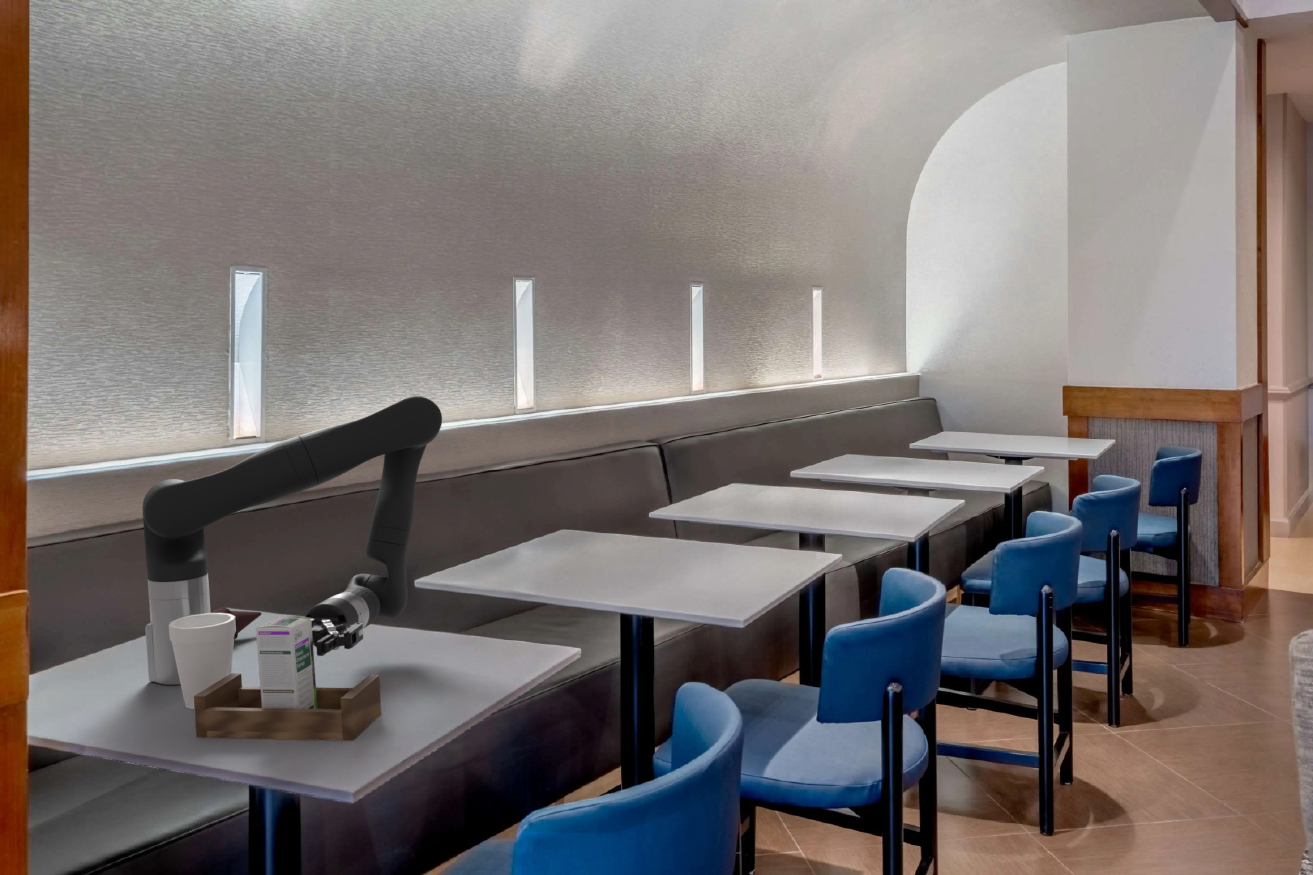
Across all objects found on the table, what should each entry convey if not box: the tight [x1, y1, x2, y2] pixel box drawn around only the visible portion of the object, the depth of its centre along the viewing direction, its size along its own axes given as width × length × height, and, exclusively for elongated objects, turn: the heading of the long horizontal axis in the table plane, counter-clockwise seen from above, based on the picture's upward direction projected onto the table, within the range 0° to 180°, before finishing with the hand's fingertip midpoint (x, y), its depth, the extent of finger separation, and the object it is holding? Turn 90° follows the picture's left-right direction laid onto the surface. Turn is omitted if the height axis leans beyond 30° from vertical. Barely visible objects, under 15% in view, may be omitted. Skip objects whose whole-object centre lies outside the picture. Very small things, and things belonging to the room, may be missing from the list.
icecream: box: [210, 606, 262, 641], centre depth 200 cm, size 7×7×15 cm
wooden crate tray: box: [194, 672, 382, 742], centre depth 154 cm, size 23×10×6 cm, turn 83°
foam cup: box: [169, 613, 236, 710], centre depth 165 cm, size 10×9×13 cm
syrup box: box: [255, 615, 318, 709], centre depth 154 cm, size 6×6×14 cm
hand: (291, 648), depth 156 cm, fingers open, 8 cm apart
